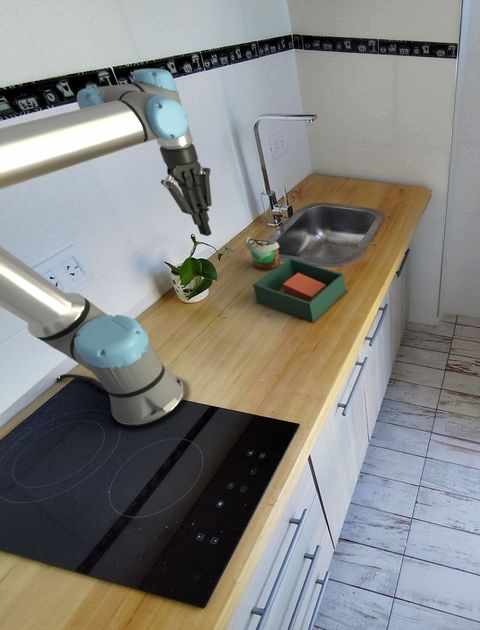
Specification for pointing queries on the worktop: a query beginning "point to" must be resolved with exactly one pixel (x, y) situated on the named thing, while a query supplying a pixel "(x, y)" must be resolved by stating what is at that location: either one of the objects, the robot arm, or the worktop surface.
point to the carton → (303, 287)
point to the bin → (296, 306)
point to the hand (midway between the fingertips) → (205, 233)
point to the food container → (264, 253)
